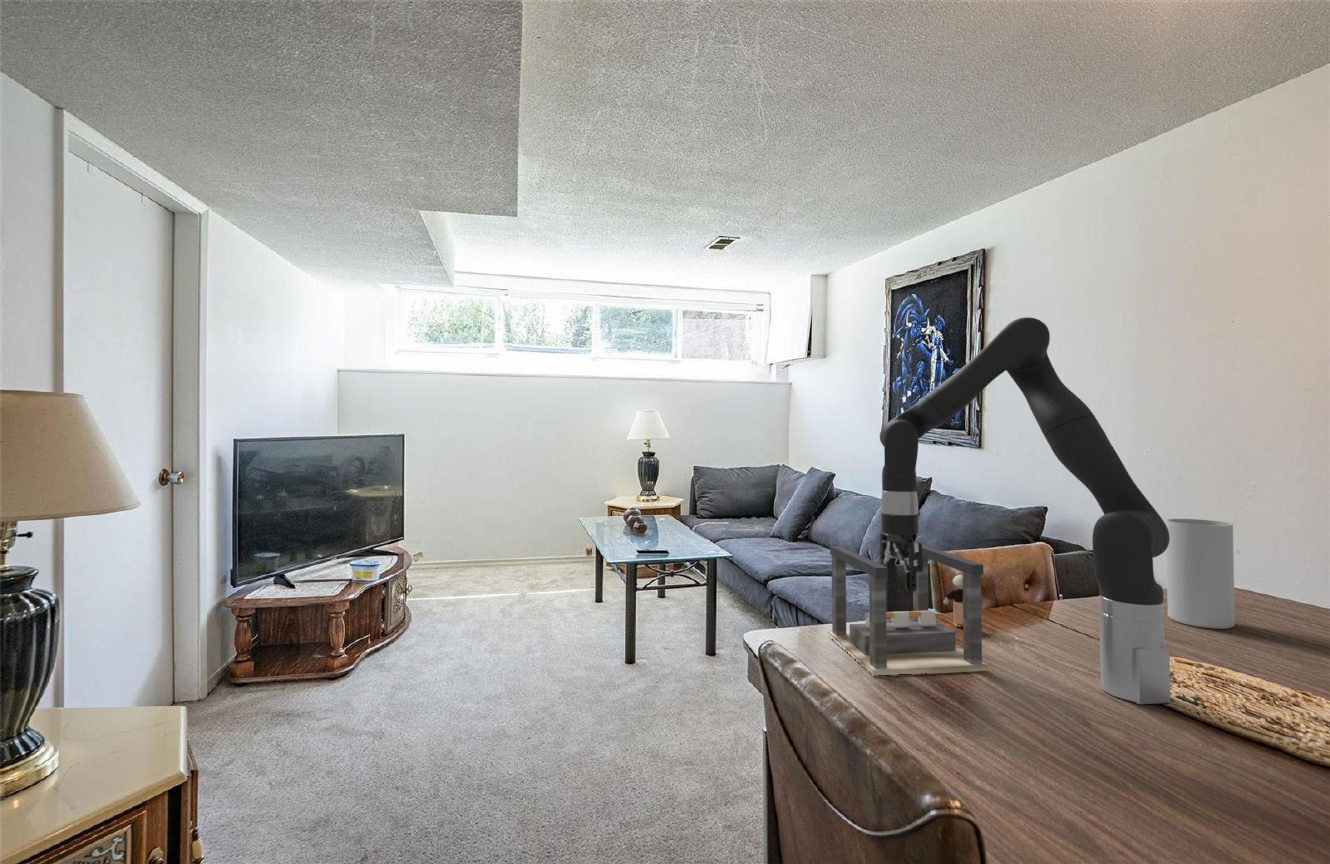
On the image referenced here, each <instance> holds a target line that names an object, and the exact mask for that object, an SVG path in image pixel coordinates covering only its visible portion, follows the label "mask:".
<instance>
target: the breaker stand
mask: <svg viewBox="0 0 1330 864" xmlns="http://www.w3.org/2000/svg"><path fill="white" fill-rule="evenodd" d="M922 559H923V571H922V572H918V573H917V574H916V582H917V589H916V591H912V594H913V595H912V599H913V601H912V602H913V606H912V608H913V610H912V611H928V610H929V567H928V566H929V562H928V561H929V559H927V558H925V557H922ZM846 564H847V563H846V562H844V561H842V560H840V559H838V558H836V557H834V556H832V555H831V612H832V613H831V617H832V619H831V622H832V623H831V625H832V628H831V629H832V630H828V631H827V635H828V634H829V635H830V636H832V637H833V638H834V639H835V640H836V641H838V642H839V643H840V644H841V645H842V646H844V647H845V649H846V650H847V651H849V652H850V653H851V654H852V655H853V656H854V657H855V658H856V659H857V660H858V661H860V663H861V664H862V665H864V666H865V667H866V668H867V670H869V671H870V672H871V673H872V675H892V676H899V675H898V674H912V675H926V674H925V673H927V674H929V675H931V674H949V673H968V672H969V673H970V672H988V671H989V664H988V663H986V662H984V661H983V650H982V649H983V642H982V641H983V639H982V636H983V635H982V633H983V632H982V628H983V627H982V575H971V574H968V573H965V572H962V575H963V624H962V628H963V629H962V630H963V631H962V632H963V633H962V634H963V635H962V636H963V642H962V643H963V648H961V647H959V646H957V645H956V631H954V630H952V629H951V628H948V627H947V626H945V625H943V624H941V623H939V622H937V621H936V625H920V624H918V616H916V617H913V621H910V626H894V625H892V622H887V618H886V612H887V581H886V578H875V577H873V576H871V575H869V574H868V591H869V592H868V598H869V599H868V600H869V601H868V604H869V607H868V610H869V611H868V613H869V624H870V627H867V626H866V623H853V624H852V623H850V624H849V630H847V584H846V583H847V578H846V577H847V572H846V571H847V570H846V569H847V567H846V566H847V565H846ZM916 564H917V566H918V560H917V561H916ZM867 670H866V671H867ZM921 673H922V674H921ZM872 675H871V676H872Z"/></svg>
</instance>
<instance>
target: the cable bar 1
mask: <svg viewBox="0 0 1330 864" xmlns="http://www.w3.org/2000/svg"><path fill="white" fill-rule="evenodd" d="M829 552H830V553H829V554H830V556H831V557H832V556H834V557H836V558H838V559H840V560H842V561H844V562H846V564H847V565H850V566H851V567H853V568H856V569H858V570H860V571H862V572H863V573H865V574H867V575H868V576H869V575H871V576H873V577H875V578H888V568H887V567H886V565H883V564H880V563H878V562H876V561H874V560H872V559H870V558H867V557H865V556H864V555H861V554H859V553H857V552H854V551H852V550H850V549H848V548H846V547H844V546H841V545H831V546H829Z"/></svg>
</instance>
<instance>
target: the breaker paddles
mask: <svg viewBox="0 0 1330 864" xmlns="http://www.w3.org/2000/svg"><path fill="white" fill-rule="evenodd" d="M864 616H865V617H864V618H865V624H866V626H867V627H870V624H869V612H865V613H864ZM916 616H918V624H920V625H936V622H937V620H936V611H935V610H931V609H928V611H913V610H912V611H911V610H910V611H909V610H907V611H905V610H904V611H886V619H888V618H891V623H892V625H894V626H910V622H911V621H910V618H911V617H916Z"/></svg>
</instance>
